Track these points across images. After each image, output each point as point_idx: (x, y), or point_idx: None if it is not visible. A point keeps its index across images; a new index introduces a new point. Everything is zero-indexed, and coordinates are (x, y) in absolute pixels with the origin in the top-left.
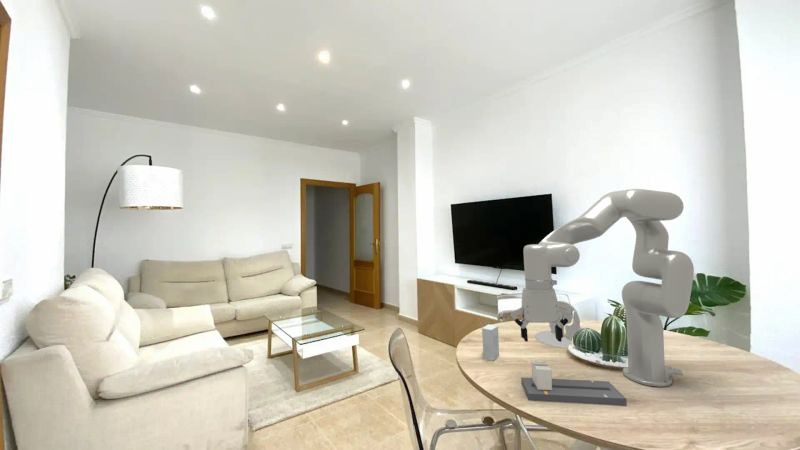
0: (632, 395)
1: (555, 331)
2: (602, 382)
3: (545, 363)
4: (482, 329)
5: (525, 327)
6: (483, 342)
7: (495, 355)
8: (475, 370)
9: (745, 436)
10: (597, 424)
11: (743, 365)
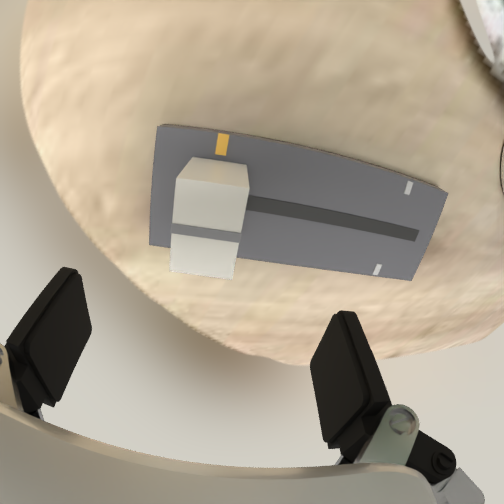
0: (451, 229)
1: (348, 360)
2: (429, 196)
3: (237, 215)
4: None
5: (41, 399)
6: None
7: None
8: (42, 43)
9: (462, 336)
10: (282, 328)
11: None
